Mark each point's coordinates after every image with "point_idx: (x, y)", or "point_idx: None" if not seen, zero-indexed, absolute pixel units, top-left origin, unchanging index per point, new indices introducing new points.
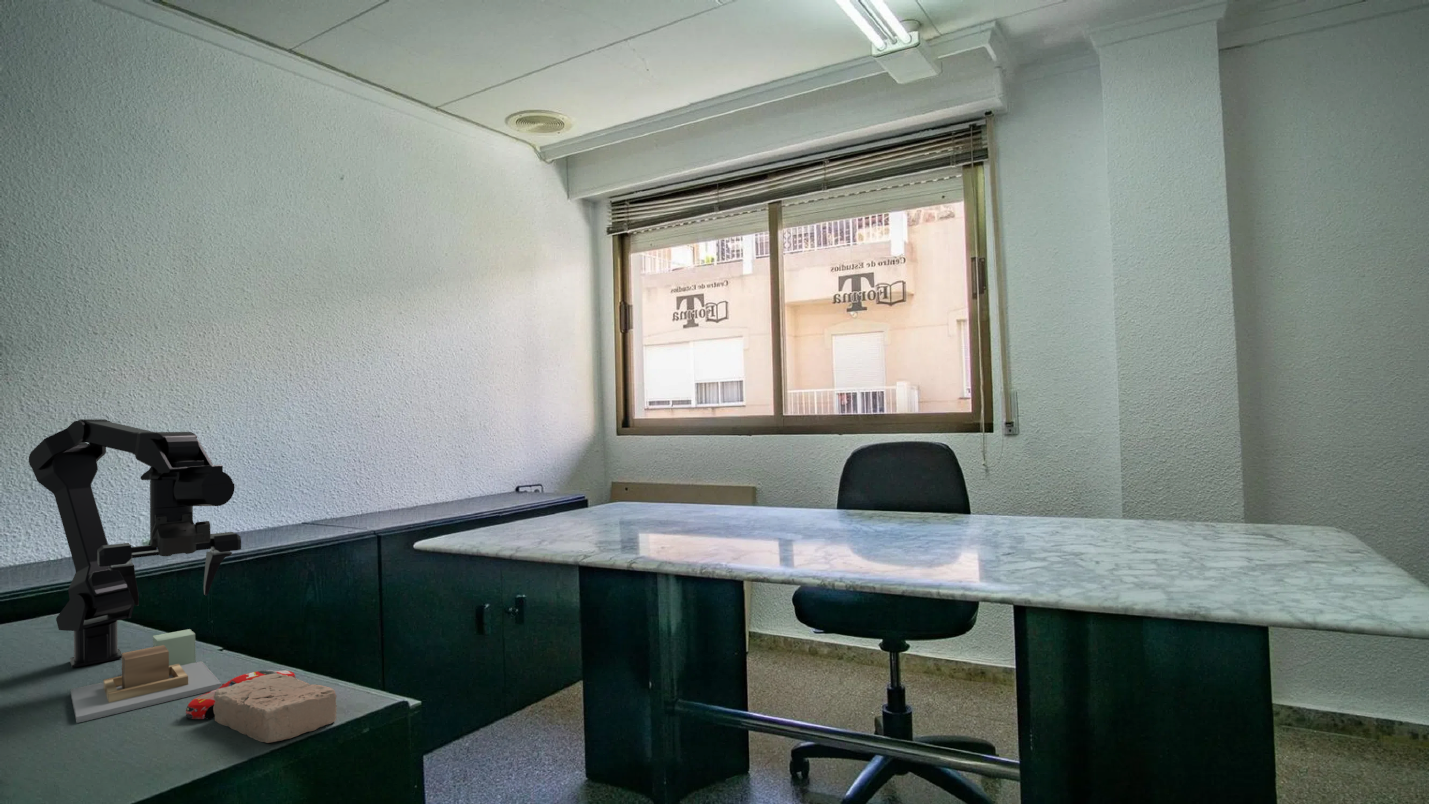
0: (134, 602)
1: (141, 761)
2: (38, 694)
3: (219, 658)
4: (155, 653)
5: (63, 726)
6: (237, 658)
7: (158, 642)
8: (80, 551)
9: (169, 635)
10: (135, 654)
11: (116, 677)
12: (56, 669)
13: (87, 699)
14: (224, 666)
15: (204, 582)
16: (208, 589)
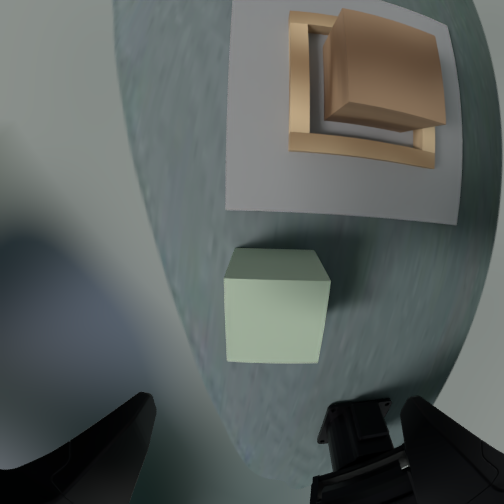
0: (428, 402)
1: None
2: (467, 278)
3: (184, 248)
4: (374, 19)
5: (453, 35)
6: (152, 207)
7: (327, 278)
8: None
9: (286, 331)
10: (419, 63)
11: (415, 159)
12: (399, 407)
13: (446, 107)
14: (187, 153)
15: (137, 452)
16: (128, 404)
